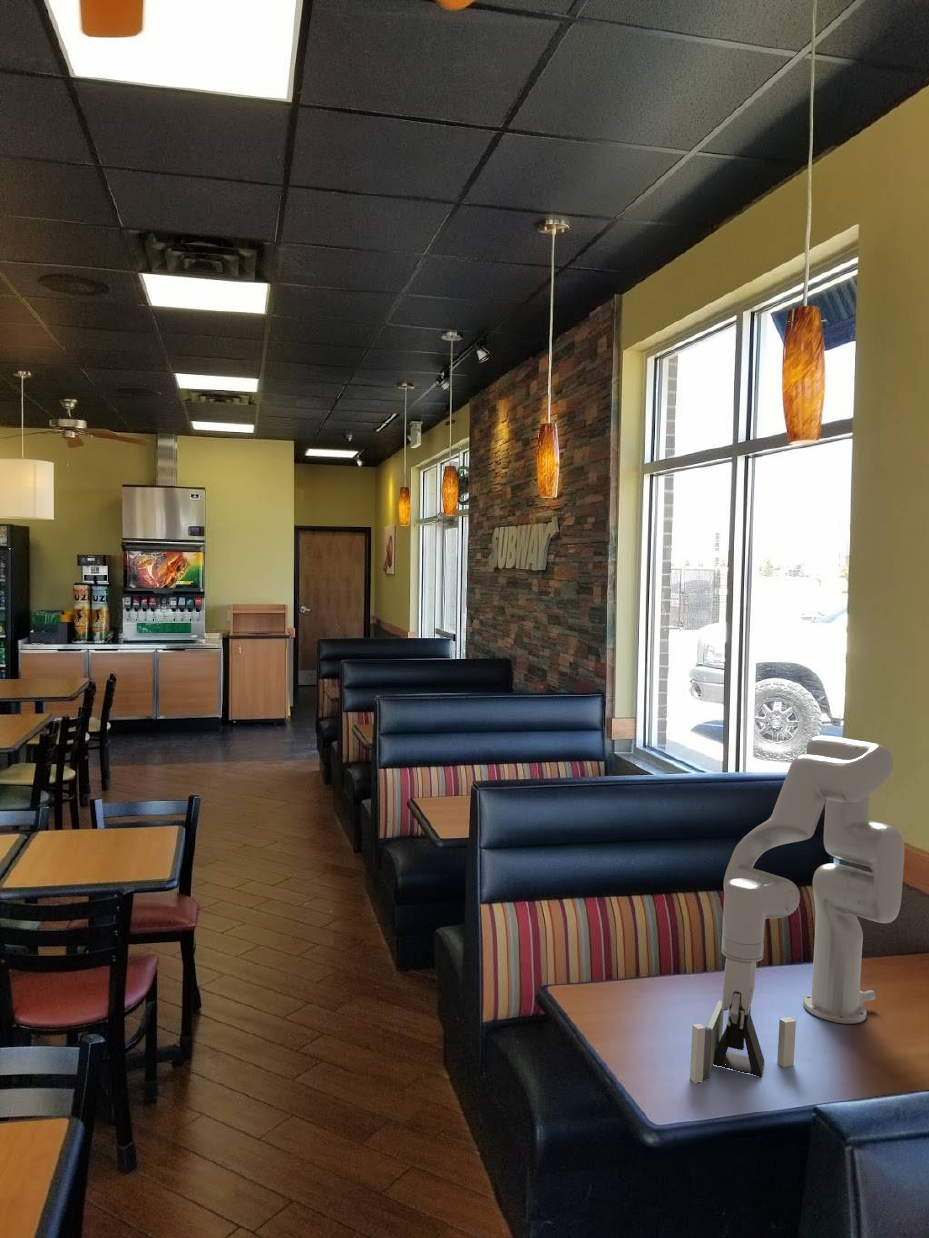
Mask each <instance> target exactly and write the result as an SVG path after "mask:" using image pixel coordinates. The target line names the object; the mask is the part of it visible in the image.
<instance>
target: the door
mask: <svg viewBox="0 0 929 1238" xmlns="http://www.w3.org/2000/svg"><path fill="white" fill-rule="evenodd" d="M724 1013H725V1011H723V1009H722V999H721V1000H720V999H719V1000H718V1001H717V1003H716V1006H715V1008H714V1011H713V1013H712V1015H711V1018H710V1020H709V1022H708V1023H707V1026H704V1027H705V1043H704V1062H703V1080H705V1079H708V1080H710V1074H711V1071H712V1068H713V1067H714V1066H713V1062H714V1057H715V1054H716V1051H717V1048H718V1045H719V1042H720V1040H721V1037H722V1035H723V1033H724V1032H723V1030H724V1029H723V1028H724Z"/></svg>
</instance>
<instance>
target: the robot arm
mask: <svg viewBox="0 0 929 1238" xmlns="http://www.w3.org/2000/svg"><path fill="white" fill-rule="evenodd" d="M806 744H807V745H806V754H801V755H798V756H796V757H795V758H794V759H793V760H792V762H791V764H790V766H789V768H788V770H787V773H786V776H785V778H784V781H783V784H782V787H781V789H780V792H779V794H778V797H777V800H776V803H775V805H774V808H773V811H772V814H771V815H770V817H769V818H768V819H767V820H765V821H763V822H762V823H761V824H759V825H758V826H756V827H755V828H753V829H752V830H751V831H749V832H748V833H747V834H746V835H745V836H744V837H742V839H741V840H740V841H739V842H738V843H737V844H736V846H735V848H734V850H733V852H732V854H731V857H730V859H729V862H728V864H727V868H726V869H725V874H724V877H723V892H724V893H723V895H724V896H723V913H722V935H721V936H722V937H721V954H723V956H725V965H724V972H723V973H724V974H723V975H724V976H723V986H722V999H721V1001H722V1009H723V1011H724V1012H725V1011H728V1014H727V1015H728V1016H727V1022H726V1026H725V1027H726V1028H725V1029H726V1046H727V1047H728V1048H730V1049H735V1050H739V1051H744V1048H745V1038H744V1035H745V1028H743V1025H744V1016H745V1015H747V1014H748V1013H749V1010H750V1013H751V1008H752V1007H751V1005H752V1003H753V997H754V993H755V985H756V984H755V983H756V972H757V971H756V969H757V962H760V961H762V960H763V959H764V947H765V928H766V927H765V926H766V925H765V924H766V920H767V919H768V920H769V919H780V918H782V919H783V918H787V917H788V916H790V915H792V914H793V913H795V911H796V910H797V908H798V907H799V904H800V902H801V893H800V889H799V888H798V886H797V884H795V883H794V882H793V881H792V880H790V879H788V878H785V877H782V876H779V875H775V874H774V873H770V872H766V871H763V870H760V869H756V868H754V866H755V863H756V862H757V861H758V859H759V858H760V857H761V856H762V855H763V854H764V853H766V852H767V851H769V850H771V849H773V848H775V847H779V846H782V845H786V844H791V843H797V842H802V841H806V840H809V839H811V838H812V837H813V836H814V834H815V831H816V829H817V826H818V823H819V820H820V818H821V815H822V812H823V809H825V811H824V822H823V823H824V825H823V846H824V849H825V851H826V853H827V854H828V855H830V856H832V857H834V858H836V859H840V860H843V861H846V862H849V863H854V864H858V865H861V866H864V867H865V866H866V867H868V868H870V869H871V872H870V871H868V870H867V871H866V870H863V869H860V868H856V867H852V866H848V865H844V864H842V863H841V864H840V863H836V862H835V863H834V862H833V863H832V862H830V863H825V864H821V865H820V866H819V867H818V868H816V870H815V871H814V874H813V878H812V892H813V893H812V894H813V899H814V908H815V909H814V913H815V923H814V924H815V925H814V927H815V930H814V945H813V964H812V966H813V967H812V981H811V993H809V994H807V995H806V996H804V998H803V1007H804V1008H805V1009H806V1011H808V1013H810V1014H812V1015H813V1016H815V1017H818V1018H820V1019H823V1020H825V1021H828V1022H833V1023H838V1024H849V1025H852V1024H858V1023H862V1022H864V1021H865V1020H866V1018H867V1010H866V1008H865V1007H864V1006H863V1003H865V1002H866V1001H873V1000H876V998H877V996H876V995H877V994H876V993H875V991H874V990H871V989H870V990H864V991H862V989H861V974H862V958H863V957H862V956H863V955H862V954H863V941H864V940H863V939H864V938H863V936H864V934H863V930H862V925H861V923H860V921H859V919H858V917H860V918H862V919H866V920H869V921H873V922H876V923H881V924H890V923H892V922H893V921H895V920H896V919H897V917H898V915H899V912H900V910H901V905H902V897H903V896H902V895H903V881H904V880H903V879H904V869H905V867H904V865H905V842H904V839H903V836H902V834H901V831H899V830H898V829H897V828H896V827H895V826H893V825H890V824H887V823H884V822H879V821H875V820H871V819H870V818H869V802H870V801H869V800H870V797H869V795H871V794H872V793H873V792H875V791H876V790H877V789H880V787H882V786H883V785H884V784H885V783H886V782H887V781H888V779H889V778H890V776H891V773H892V771H893V768H894V767H893V766H894V759H893V755H892V753H891V752H890V750H889V749H888V748H887V747H886V746H885V745H883V744H879V743H876V742H871V741H863V740H858V739H854V738H853V739H852V738H847V737H840V736H833V735H816V736H813V737H811V738H810V739H809V740H808V741H807V743H806ZM824 806H825V808H824ZM739 1009H741V1010H739ZM742 1009H743V1010H742ZM739 1015H741V1020H740V1018H739V1017H738V1016H739Z"/></svg>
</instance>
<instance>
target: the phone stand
mask: <svg viewBox="0 0 929 1238" xmlns="http://www.w3.org/2000/svg"><path fill="white" fill-rule="evenodd" d="M739 1010H741V1009H739ZM742 1010H743V1009H742ZM738 1017H739V1018H740V1020H741V1015H739V1016H738ZM753 1021H754V1020H753V1018H752V1016H751V1012H750V1010H749V1013H748V1014H747V1015H745V1016H744V1025H743V1028H745V1035H744V1044H745V1049H746V1052H747V1056H745V1055H741V1054H736V1053H733V1052H728V1049H729V1047H727V1046H726V1028H725V1029H724V1032H723V1033H722V1037H721V1040H720V1042H719V1045H718V1048H717V1051H716V1054H715V1057H714V1062H713V1064H714V1065H717V1066H722V1067H725V1068H730V1069H733V1070H736V1072H737V1071H740V1072H744V1073H750V1074H753V1075H756V1076H759V1077H758V1078H762V1077H763V1074H764V1071H763V1070H764V1066H765V1058H764V1055H763V1052H762V1048H761V1045H760V1042H759V1038H758V1036H757V1032H756V1028H755V1026H754V1023H753ZM726 1053H727V1054H726ZM730 1053H731V1054H730ZM725 1064H726V1065H725ZM756 1076H755V1077H756Z"/></svg>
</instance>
